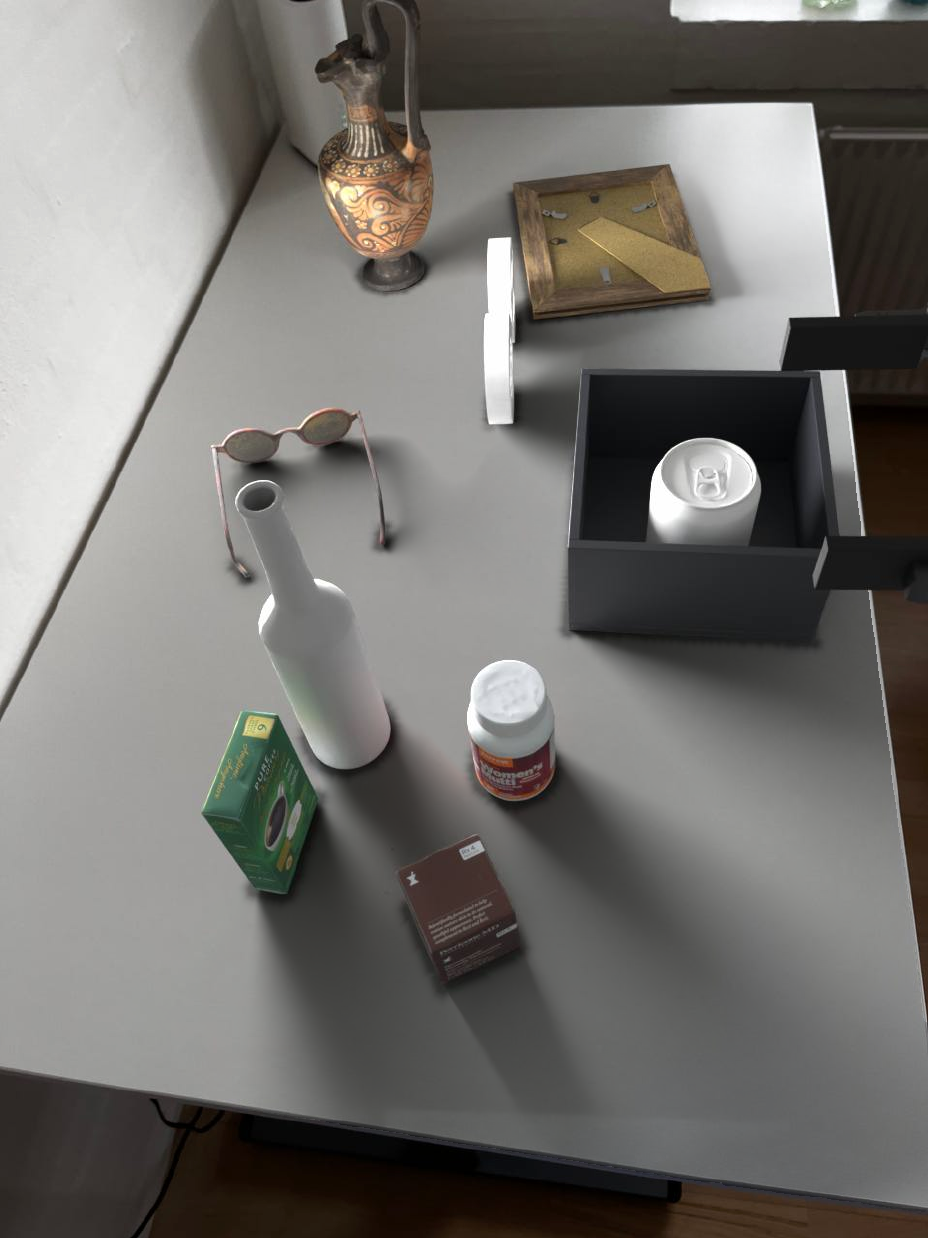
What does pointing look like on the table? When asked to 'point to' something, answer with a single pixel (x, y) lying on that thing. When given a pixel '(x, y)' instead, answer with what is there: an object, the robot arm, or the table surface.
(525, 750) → the pill bottle
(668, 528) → the beverage can
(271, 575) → the bottle
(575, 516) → the storage bin
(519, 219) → the picture frame
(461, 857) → the box
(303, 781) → the coffee box
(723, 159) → the table surface
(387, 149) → the vase
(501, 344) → the letter
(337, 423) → the eyeglasses
